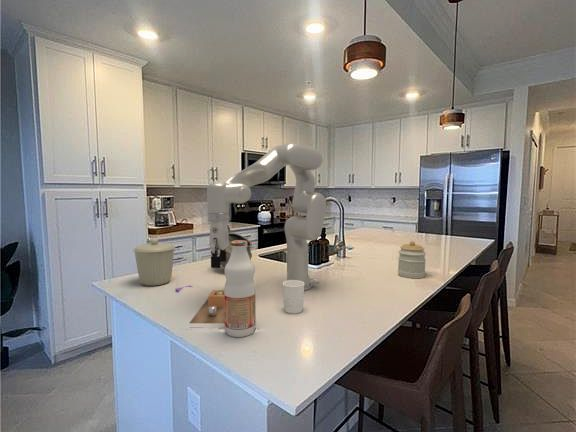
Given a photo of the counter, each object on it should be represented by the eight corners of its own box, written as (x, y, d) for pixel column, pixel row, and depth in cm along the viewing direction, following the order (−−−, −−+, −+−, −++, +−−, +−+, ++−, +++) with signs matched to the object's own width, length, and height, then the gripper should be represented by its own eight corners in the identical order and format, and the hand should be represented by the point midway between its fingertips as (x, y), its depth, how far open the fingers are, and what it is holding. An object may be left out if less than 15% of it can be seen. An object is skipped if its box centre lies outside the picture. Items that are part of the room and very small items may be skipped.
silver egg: (217, 314, 108) (217, 305, 108) (215, 317, 105) (215, 308, 105) (209, 314, 108) (209, 305, 108) (208, 317, 105) (207, 308, 105)
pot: (206, 270, 172) (205, 223, 170) (238, 263, 186) (238, 221, 184) (226, 277, 157) (225, 227, 155) (260, 270, 171) (259, 224, 169)
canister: (140, 291, 136) (138, 242, 135) (129, 282, 150) (127, 237, 148) (182, 283, 148) (180, 238, 146) (168, 275, 162) (167, 234, 160)
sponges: (186, 299, 128) (186, 295, 128) (175, 291, 137) (174, 287, 137) (203, 296, 132) (203, 291, 132) (190, 288, 142) (190, 284, 142)
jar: (431, 277, 158) (432, 242, 157) (410, 280, 153) (411, 243, 152) (412, 271, 170) (413, 238, 169) (392, 273, 165) (393, 239, 164)
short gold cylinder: (224, 302, 119) (223, 290, 118) (222, 305, 116) (222, 292, 116) (217, 302, 119) (217, 290, 118) (216, 304, 116) (215, 292, 116)
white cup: (291, 304, 121) (291, 278, 120) (308, 309, 116) (308, 282, 115) (278, 310, 115) (277, 283, 114) (295, 316, 110) (295, 287, 109)
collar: (231, 300, 121) (231, 290, 121) (227, 307, 114) (227, 296, 114) (212, 300, 121) (212, 290, 121) (208, 307, 114) (207, 296, 114)
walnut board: (239, 302, 124) (239, 298, 124) (227, 327, 101) (227, 323, 101) (208, 301, 124) (208, 298, 124) (189, 327, 101) (189, 323, 101)
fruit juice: (236, 341, 92) (234, 245, 90) (219, 330, 99) (217, 241, 97) (261, 331, 98) (261, 241, 96) (244, 321, 105) (243, 237, 103)
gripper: (223, 220, 106) (224, 270, 108) (233, 215, 124) (233, 259, 125) (201, 220, 106) (202, 270, 108) (213, 215, 124) (214, 259, 125)
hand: (218, 264), depth 116 cm, fingers open, 9 cm apart
